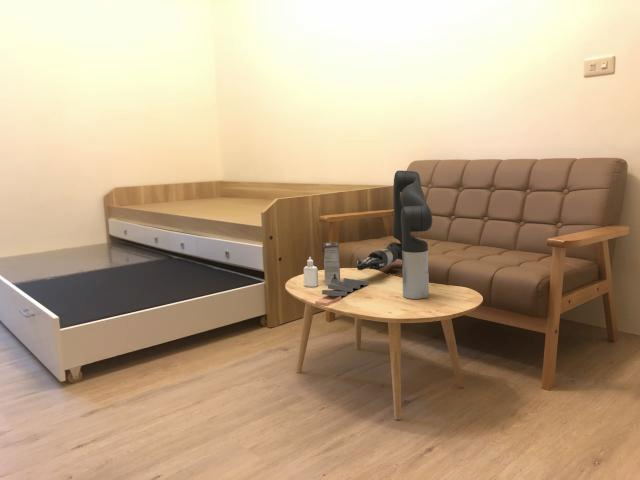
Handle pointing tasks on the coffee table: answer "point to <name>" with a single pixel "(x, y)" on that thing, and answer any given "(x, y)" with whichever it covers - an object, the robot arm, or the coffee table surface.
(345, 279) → the domino
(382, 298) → the coffee table surface
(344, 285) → the domino
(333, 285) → the domino
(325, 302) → the domino
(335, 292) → the domino
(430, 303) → the coffee table surface
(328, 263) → the coffee box
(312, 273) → the eye dropper bottle
